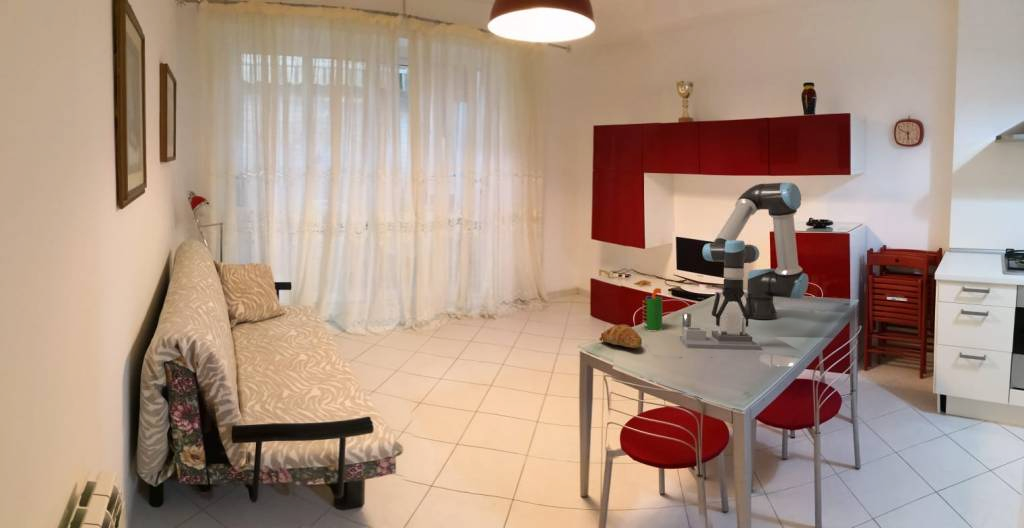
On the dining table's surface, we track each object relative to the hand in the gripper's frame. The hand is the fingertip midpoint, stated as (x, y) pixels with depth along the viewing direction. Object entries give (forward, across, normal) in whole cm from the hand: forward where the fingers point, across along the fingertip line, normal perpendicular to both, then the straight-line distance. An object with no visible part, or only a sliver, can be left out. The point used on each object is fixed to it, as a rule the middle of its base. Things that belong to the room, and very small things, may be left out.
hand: (731, 334), depth 253 cm
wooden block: (+2, 0, 0) cm, 2 cm away
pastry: (+5, +44, +4) cm, 44 cm away
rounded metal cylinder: (+4, +15, -16) cm, 22 cm away
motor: (+5, +29, -25) cm, 38 cm away
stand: (+4, +5, 0) cm, 7 cm away
